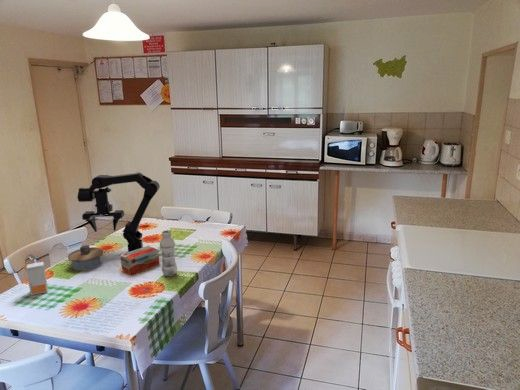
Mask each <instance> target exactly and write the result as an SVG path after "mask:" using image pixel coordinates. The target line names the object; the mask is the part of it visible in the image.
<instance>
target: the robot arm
mask: <svg viewBox="0 0 520 390" xmlns="http://www.w3.org/2000/svg"><path fill="white" fill-rule="evenodd" d="M134 182H136V183H137V184H138V185H139V186H140V187H141V188H142V189H143V190H144V191H143V192H144V193H143V196H142V199H141V202H140V204H139V206H138V208H137V210H136V212H135V213H134V216H133V217H132V220H131V221H128V222H127V223H125V226H124V229H123V230H122V237H123V238H124V239H125V240H126V242H127V243H128V244H127V253H128V252H131V251H134V250H137V249H140V248H143V247H144V244H143V239H142V238H143V233H142V232H141V231H140V230H139V229H140V223H141V221H142V218H143V217H144V215H145V213H146V211H147V208H148V207H149V206H150V205H149V204H150V202H151V201H152V199H153V198H154V197H155V195H157V194H156V193H158V192H159V190H160V186H161V185H160V183H159V182H158V181H157V180H153V179H151V178H150V177H148V176H146V175H144V174H143V173H141V172H136V173H135V172H134V173H128V174H120V175H119V174H118V175H108V174H99V175H96V176H95V177H94V178H92V180H91V184H90V186H89V187H80V188H78V191H77V200H78V202H79V203H87V202H90V203H91V202H93V200H95V208H96V212H95V211H94V210H89V211H88V210H87V211H85V212H84V213H83V214H82V215H81V217H82V220H83V221H85V222H87V223H88V224H89V225H90V227H92V229H93V231H94V232H95V233H97V231H98V230H97V229H98V228H97V224H96V218H100V217H101V218H102V217H103V218H104V217H113V218H112V226H113V231H114V232H116V231H117V227H118V224H119V223H118V222H119V220H121V219H122V218H124V216H125V211H124V210H123V209H117V210H116V209H115V211H113V204H110V201H109V197H108V193H110V192H112V189H111V188H109V186H112V185H118V184H126V183H134Z"/></svg>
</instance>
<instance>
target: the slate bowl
mask: <svg viewBox="0 0 520 390" xmlns="http://www.w3.org/2000/svg"><path fill="white" fill-rule="evenodd" d="M101 260H102V259H101V256H99V257H97V258H95V259H92V260H88V261H82V262H74V261H71V266H72V269H73V270H74V271H75V270H76V271H79V272H80V270H81V271H88V270H89V271H90V270H92V269H93V270H94V269H95V268H97V267H100V265H101V263H102V261H101Z"/></svg>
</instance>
